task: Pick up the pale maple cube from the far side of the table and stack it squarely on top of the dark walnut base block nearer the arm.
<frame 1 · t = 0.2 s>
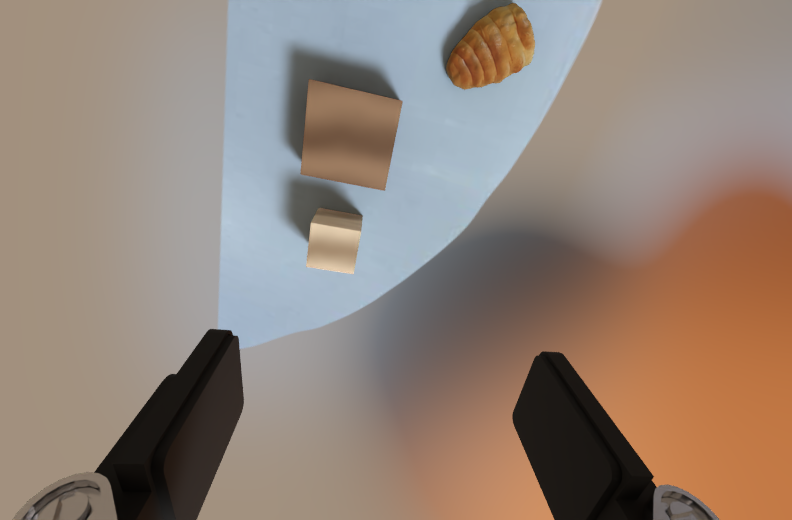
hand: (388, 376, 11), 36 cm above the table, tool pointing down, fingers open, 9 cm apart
pastry: (489, 53, 38), on the table
walnut base: (351, 135, 41), on the table
maple cube: (337, 231, 47), on the table
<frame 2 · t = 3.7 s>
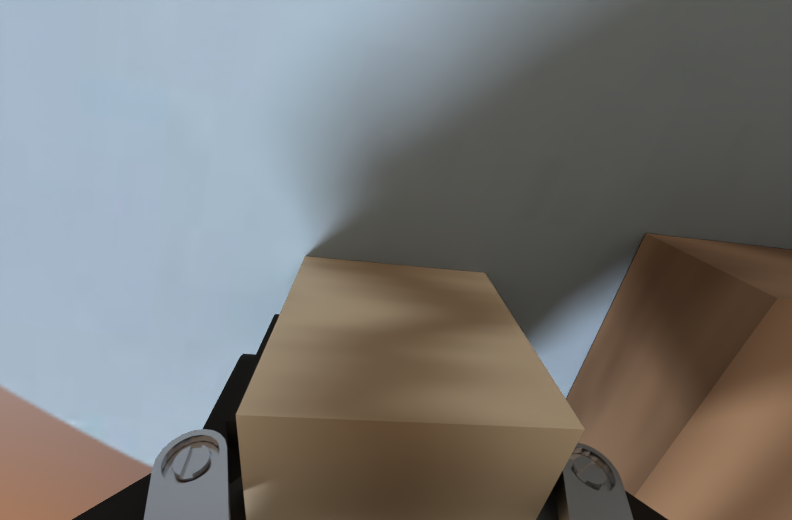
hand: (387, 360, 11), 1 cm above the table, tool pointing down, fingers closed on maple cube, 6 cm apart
walnut base: (702, 359, 14), on the table
maple cube: (386, 337, 12), on the table, touching gripper
when the fingers open (7 cm above the table, at t = 8.7 s): maple cube drops 2 cm, resting on walnut base.
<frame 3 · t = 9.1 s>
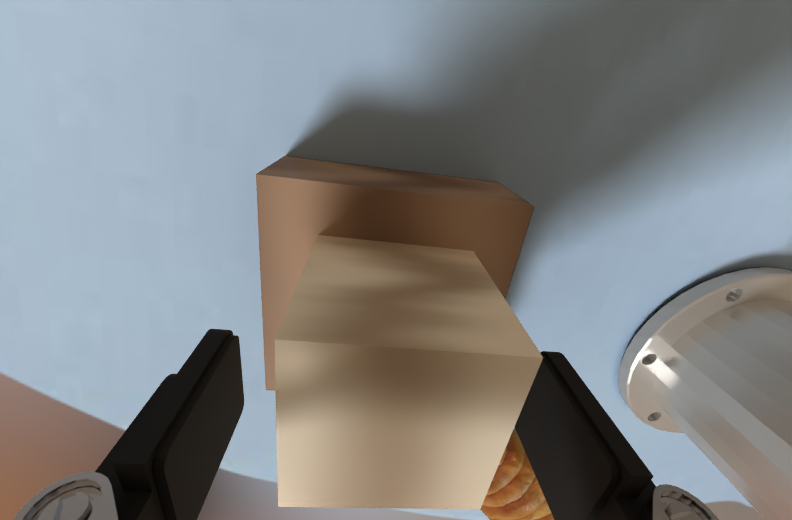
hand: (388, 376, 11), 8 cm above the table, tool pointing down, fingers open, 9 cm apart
pastry: (501, 457, 26), on the table
walnut base: (382, 265, 18), on the table
maple cube: (387, 308, 14), point 4 cm above the table, touching walnut base
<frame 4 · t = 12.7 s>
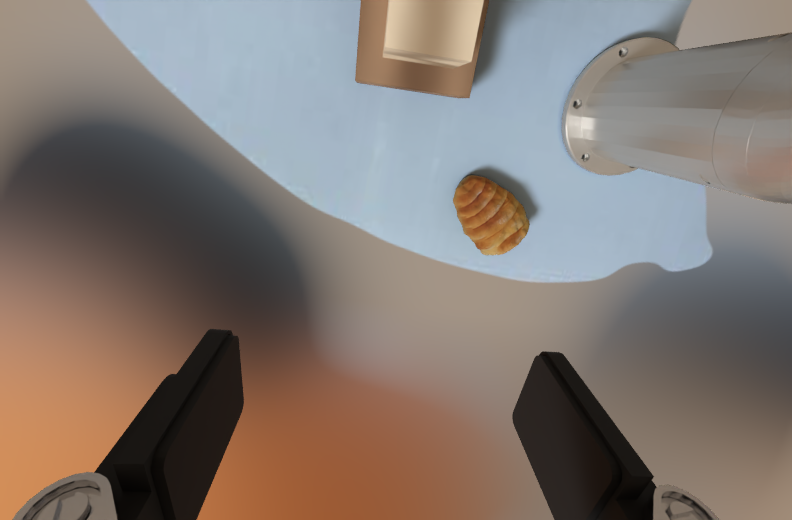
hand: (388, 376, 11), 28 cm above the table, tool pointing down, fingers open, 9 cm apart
pastry: (485, 214, 39), on the table
walnut base: (417, 29, 30), on the table
maple cube: (424, 20, 27), point 4 cm above the table, touching walnut base
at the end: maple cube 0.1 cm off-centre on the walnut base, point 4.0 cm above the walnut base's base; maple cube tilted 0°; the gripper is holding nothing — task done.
